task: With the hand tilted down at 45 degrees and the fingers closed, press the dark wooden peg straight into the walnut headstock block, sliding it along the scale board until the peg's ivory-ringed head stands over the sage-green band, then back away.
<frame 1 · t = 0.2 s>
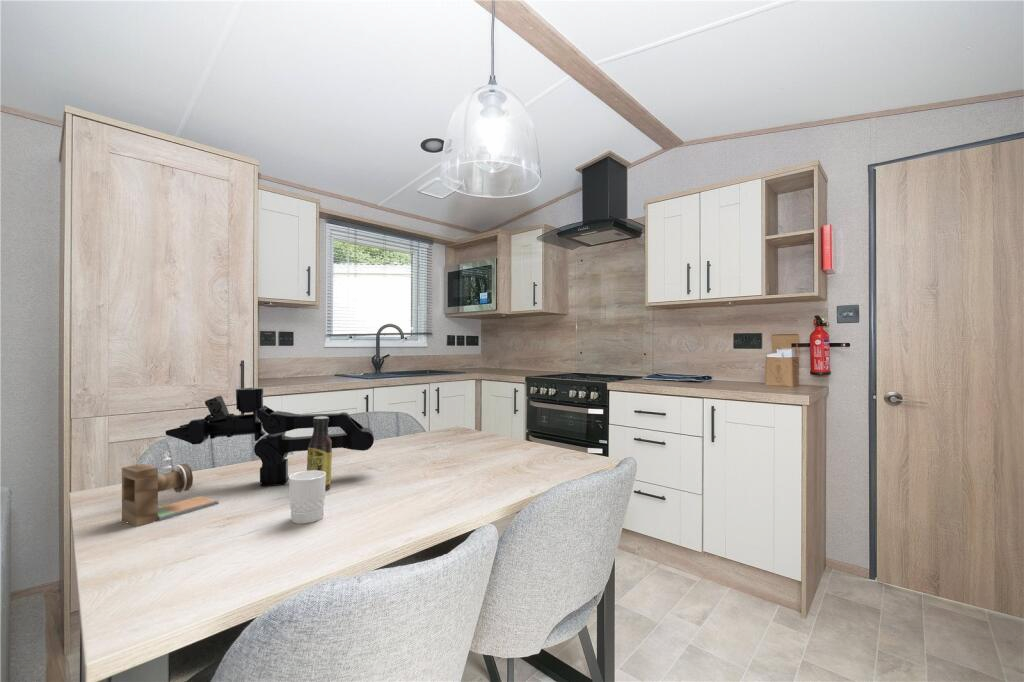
hand: (173, 430, 128), 16 cm above the table, tool horizontal, fingers open, 9 cm apart
sauce bottle: (319, 490, 129), on the table
headstock: (139, 520, 106), on the table
white cup: (307, 519, 108), on the table
peg: (166, 481, 111), point 8 cm above the table, slide at 0.0 cm
chess piece: (166, 488, 130), on the table
scale board: (181, 508, 114), on the table
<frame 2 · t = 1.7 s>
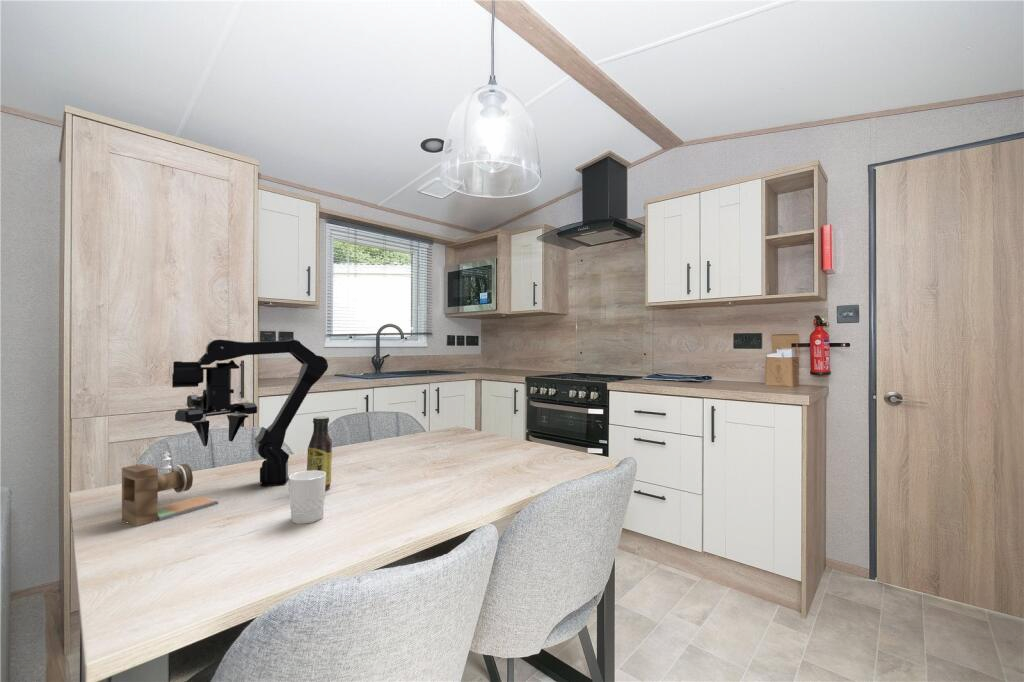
hand: (218, 443, 127), 13 cm above the table, tool pointing down, fingers open, 6 cm apart
nothing on the table moved.
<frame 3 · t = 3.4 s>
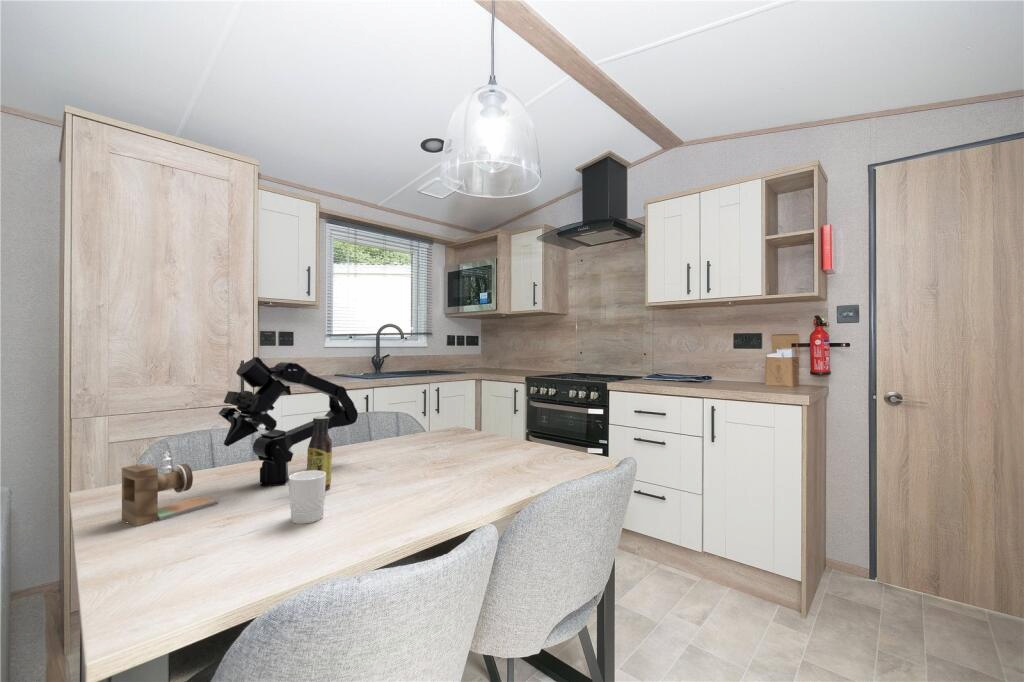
hand: (225, 445, 123), 13 cm above the table, tool tilted 45°, fingers closed
nothing on the table moved.
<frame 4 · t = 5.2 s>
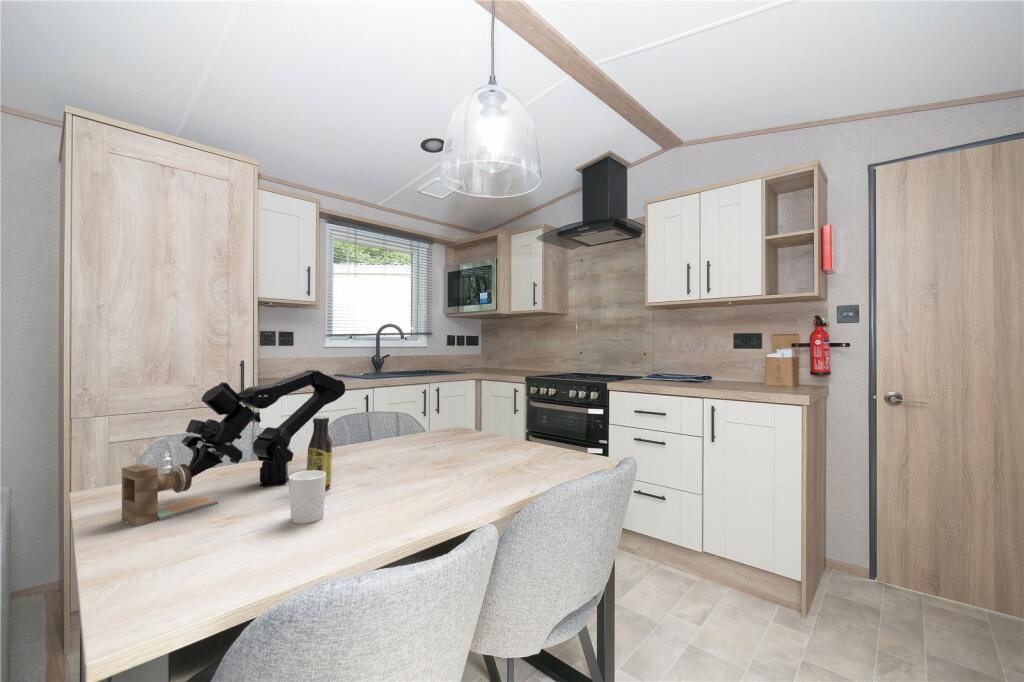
hand: (185, 478, 114), 7 cm above the table, tool tilted 45°, fingers closed, pressing on peg
peg: (164, 481, 110), point 8 cm above the table, slide at 0.2 cm, touching gripper
everything else where it was.
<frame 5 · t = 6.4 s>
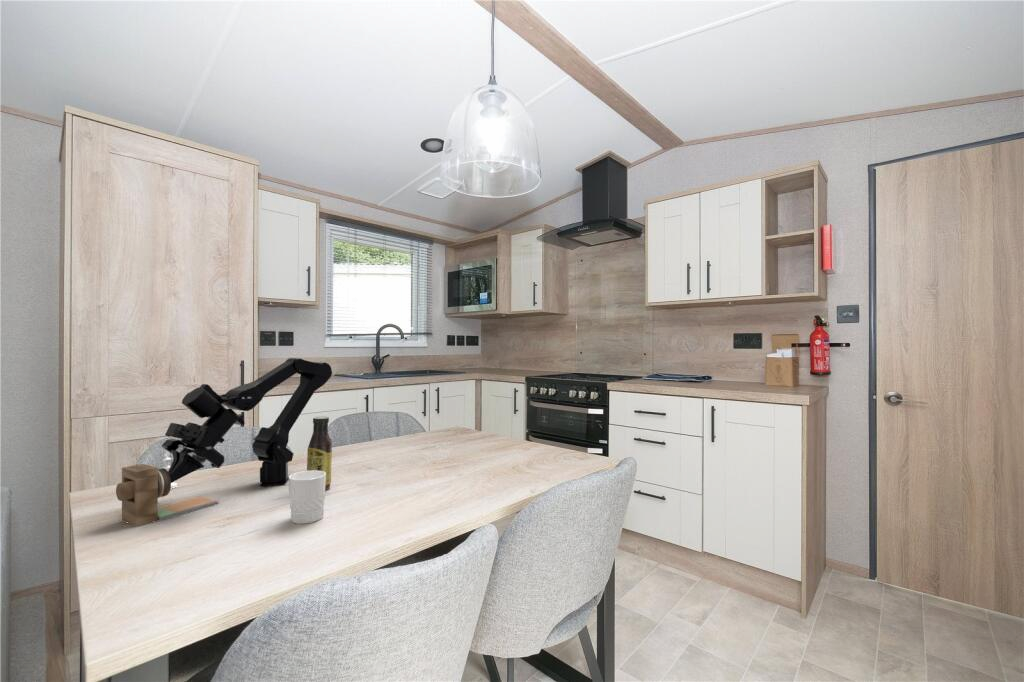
hand: (165, 483, 111), 7 cm above the table, tool tilted 45°, fingers closed
peg: (142, 486, 107), point 7 cm above the table, slide at 4.7 cm
everything else where it was.
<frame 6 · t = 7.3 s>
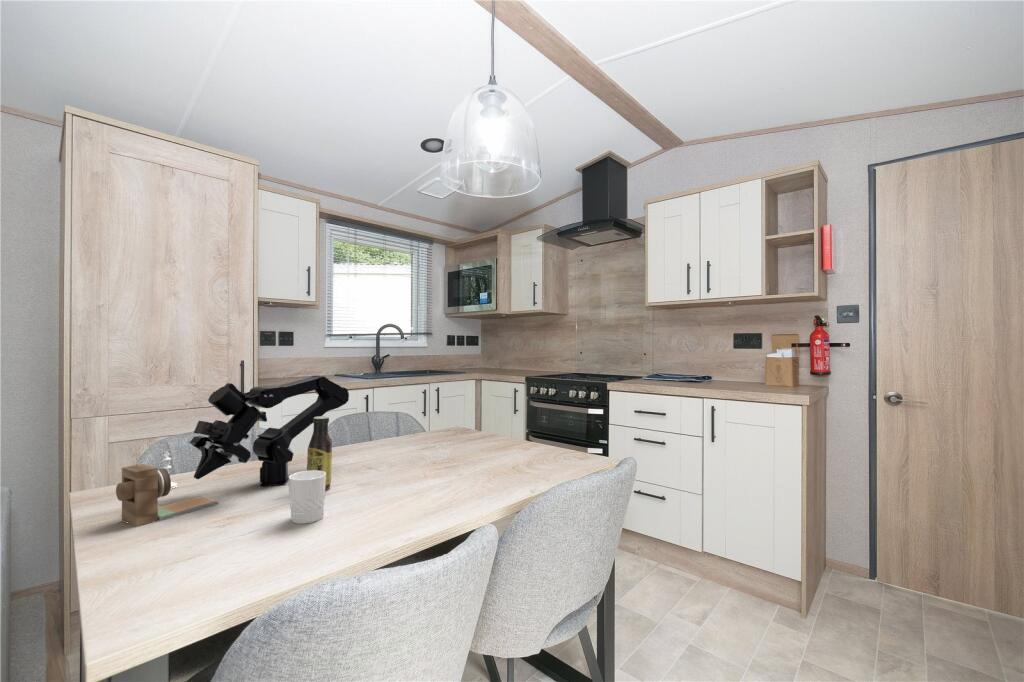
hand: (195, 478, 116), 7 cm above the table, tool tilted 45°, fingers closed
nothing on the table moved.
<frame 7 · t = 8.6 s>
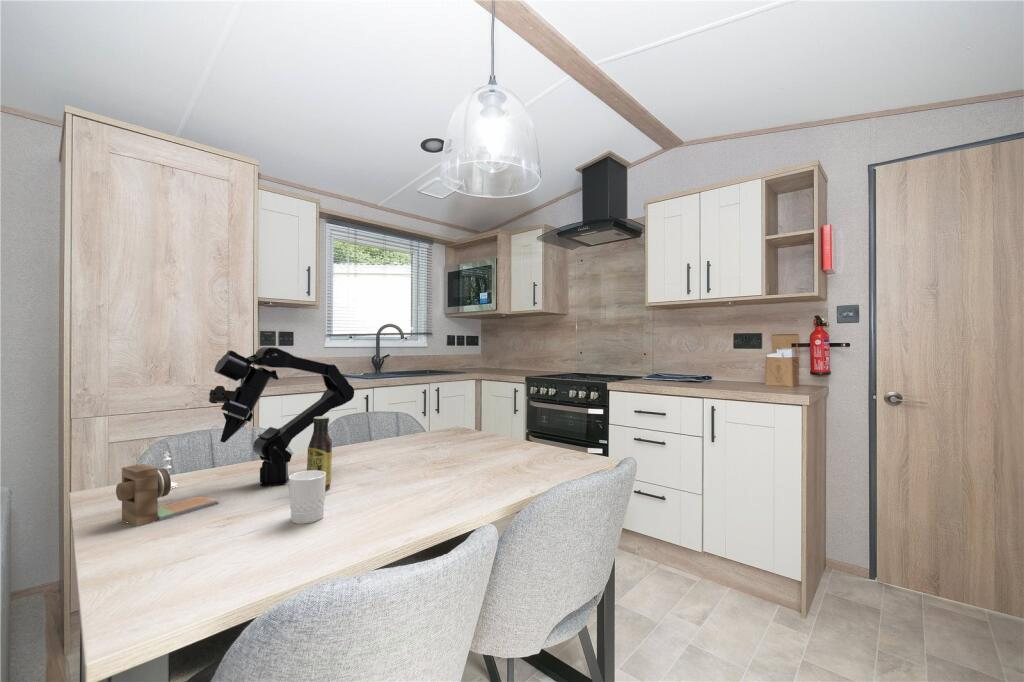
hand: (222, 442, 125), 14 cm above the table, tool tilted 30°, fingers closed
nothing on the table moved.
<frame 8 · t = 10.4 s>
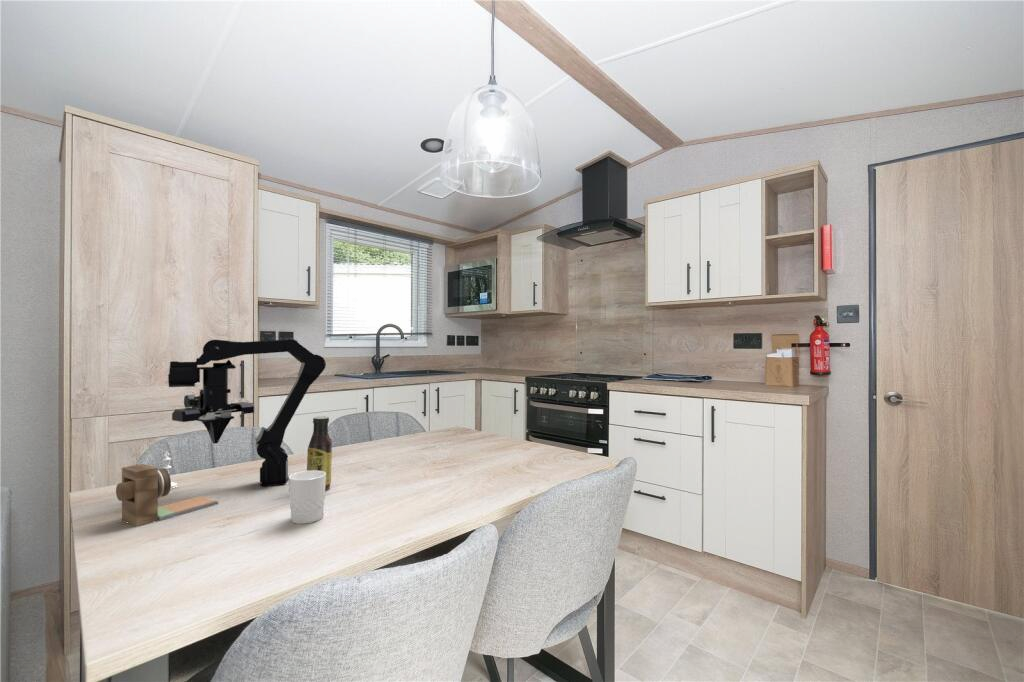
hand: (215, 443, 127), 13 cm above the table, tool pointing down, fingers closed
nothing on the table moved.
at the end: peg slide at 4.7 cm; the gripper is holding nothing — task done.
